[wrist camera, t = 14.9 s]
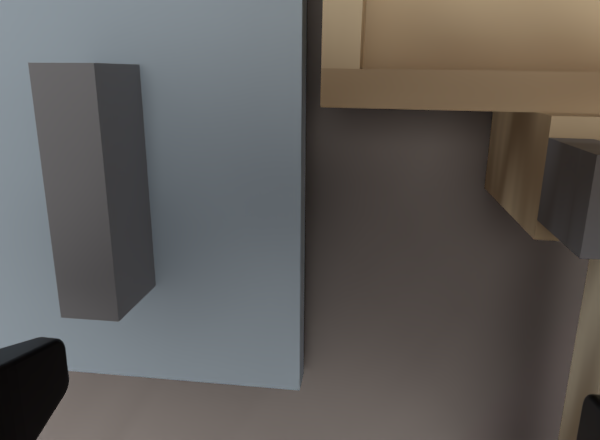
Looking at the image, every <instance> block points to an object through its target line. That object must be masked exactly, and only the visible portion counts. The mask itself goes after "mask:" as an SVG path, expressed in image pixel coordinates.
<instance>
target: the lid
mask: <svg viewBox="0 0 600 440" xmlns="http://www.w3.org/2000/svg"><path fill="white" fill-rule="evenodd" d="M306 44H307V0H0V348H4V347H7V346H10V345H14V344H17V343H21V342H24V341H27V340H31V339H34V338H38V337H48V338H57V339H60V340H62V341H63V342H64V344H65V348H66V357H67V366H68V371H77V372H88V373H100V374H112V375H124V376H135V377H147V378H159V379H171V380H182V381H194V382H206V383H218V384H229V385H241V386H253V387H265V388H276V389H288V390H300V386H301V382H302V378H303V374H304V267H305V156H306Z"/></svg>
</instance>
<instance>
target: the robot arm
mask: <svg viewBox="0 0 600 440" xmlns="http://www.w3.org/2000/svg"><path fill="white" fill-rule="evenodd" d="M68 383H69V375H68V366H67V357H66V348H65V344H64V342H63V341H62V340H60V339H57V338H48V337H38V338H34V339H31V340H27V341H24V342H21V343H17V344H14V345H10V346H7V347H4V348H0V440H36V439H37V438H38V436H39V434H40V433H41V431H42V430H43V428H44V426H45V425H46V423H47V422H48V420H49V418H50V417H51V415H52V414H53V412H54V410H55V409H56V407H57V406H58V404H59V402H60V401H61V399H62V398H63V396H64V394H65V393H66V390H67V388H68ZM576 440H600V395H598V394H589V395H587V396H586V397H585V399H584V401H583V405H582V410H581V416H580V421H579V427H578V432H577V438H576Z"/></svg>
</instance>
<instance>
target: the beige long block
mask: <svg viewBox="0 0 600 440" xmlns="http://www.w3.org/2000/svg"><path fill="white" fill-rule="evenodd" d="M589 394H598V395H600V260H598V259H589V264H588V270H587V275H586V281H585V287H584V293H583V299H582V304H581V310H580V316H579V322H578V327H577V333H576V339H575V345H574V350H573V356H572V362H571V368H570V374H569V379H568V385H567V391H566V397H565V402H564V408H563V414H562V420H561V426H560V431H559V437H558V440H576V438H577V432H578V427H579V421H580V416H581V410H582V405H583V401H584V399H585V397H586V396H587V395H589Z"/></svg>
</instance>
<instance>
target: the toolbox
mask: <svg viewBox="0 0 600 440" xmlns="http://www.w3.org/2000/svg"><path fill="white" fill-rule="evenodd" d="M320 107H328V108H370V109H412V110H454V111H493V116H492V125H491V134H490V143H489V152H488V161H487V170H486V179H485V189H486V190H487V191H488V192H489V193H490V194H491V195H492V196H493V198H494V199H495V200H496V201H497V202H498V203H499V204H500V205H501V206H502V207H503V208H504V209H505V210H506V211H507V212H508V213H509V214H510V215H511V216H512V217H513V218H514V219H515V220H516V221H517V222H518V223H519V224H520V225H521V227H522V228H523V229H524V230H525V231H526V232H527V233H528V234H529V235H530V236H531V237H532V238H533V239H534V240H549V241H561V242H562V243H563V244H564V245H565V246H566V247H568V248H569V249H570V250H571V251H572V252H573V253H574V254H575V255H576V256H578V257H579V258H580V259H598V260H600V0H323V14H322V54H321V94H320Z"/></svg>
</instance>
